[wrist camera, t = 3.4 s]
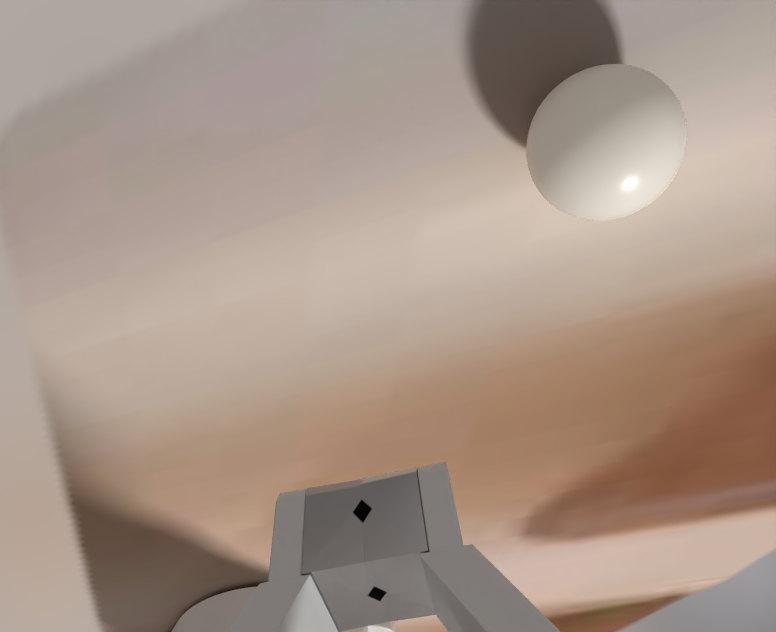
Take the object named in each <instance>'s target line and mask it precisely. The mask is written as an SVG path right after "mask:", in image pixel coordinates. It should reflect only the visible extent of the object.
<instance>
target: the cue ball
mask: <svg viewBox="0 0 776 632" xmlns="http://www.w3.org/2000/svg"><path fill="white" fill-rule="evenodd" d="M686 142H687V127H686V119H685V116H684V112H683V109H682V107H681V105H680V103H679V100H678V98H677V97H676V96H675V94H674V93H673V91H672V90H671V89H670V88H669V86H668V85H667V84H666V83H664V82H663V81H662V80H661V79H659V78H658V77H657V76H655V75H654V74H652V73H651V72H648V71H646V70H644V69H641V68H638V67H634V66H631V65H624V64H604V65H599V66H594V67H591V68H588V69H585V70H582V71H580V72H578V73H576V74H573V75H572V76H570V77H568V78H567V79H565V80H564V81H562V82H561V83H560V84H559V85H557V86H556V87H555V88H554V89H553V90H552V91H551V92H550V93H549V94H548V95H547V97H546V98H545V99H544V100H543V102H542V103H541V105H540V106H539V108H538V109H537V111H536V113H535V115H534V117H533V120H532V122H531V125H530V128H529V132H528V137H527V145H526V157H527V163H528V168H529V171H530V175H531V177H532V180H533V182H534V184H535V185H536V187H537V189H538V190H539V192H540V193H541V195H542V196H543V197H544V198H545V199H546V200H547V201H548V202H549V203H550V204H551V205H553V206H554V207H555V208H557V209H559V210H560V211H562V212H564V213H566V214H568V215H570V216H573V217H576V218H580V219H585V220H593V221H601V220H612V219H618V218H621V217H625V216H627V215H630V214H632V213H635V212H637V211H639V210H641V209H642V208H644V207H646V206H647V205H649V204H650V203H652V202H653V201H654V200H655V199H656V198H658V197H659V196H660V195H661V194H662V193H663V192H664V191H665V189H666V188H667V187H668V186H669V185H670V183H671V182H672V180H673V179H674V177H675V175H676V174H677V172H678V170H679V167H680V165H681V162H682V160H683V157H684V153H685V149H686Z"/></svg>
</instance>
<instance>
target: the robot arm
mask: <svg viewBox="0 0 776 632" xmlns="http://www.w3.org/2000/svg"><path fill="white" fill-rule="evenodd" d="M417 468H418V469H417ZM436 614H437V617H438V618H439V619H440V621H441V622H442V623H443V625H444V626H445V627H446V629H447V630H448V631H449V632H560V631H559V630H558V629H557V628H556V627H555V626H554V625H553V624H552V623H551V622H550V621H549V620H548V619H547V618H546V617H545V616H544V615H543V614H542V613H541V612H540V611H539V610H538V609H537V608H536V607H535V606H534V605H533V604H532V603H531V602H530V601H529V600H528V599H527V598H526V597H525V596H524V595H523V594H522V593H521V592H520V591H519V590H518V589H517V588H516V587H515V586H514V585H513V584H512V583H511V582H510V581H509V580H508V579H507V578H506V577H505V576H504V575H503V574H502V573H501V572H500V571H499V570H498V569H497V568H496V567H495V566H494V565H493V564H492V563H491V562H490V561H488V560H487V559H486V558H485V557H484V556H483V555H482V554H481V553H480V552H479V551H478V550H477V549H476V548H475V547H474V546H473V545H472V544H471V545H464V546H463V541H462V536H461V532H460V527H459V522H458V517H457V512H456V507H455V502H454V498H453V493H452V488H451V483H450V478H449V473H448V468H447V465H446V462H443V463H437V464H432V465H427V466H422V467H414V468H409V469H404V470H399V471H394V472H390V473H385V474H380V475H375V476H370V477H365V478H362V479H361V480H355V481H349V482H343V483H336V484H330V485H324V486H318V487H312V488H307V489H301V490H296V491H290V492H285V493H280V494H279V497H278V499H277V502H276V509H275V518H274V528H273V538H272V548H271V558H270V568H269V577H268V582H265V583H260V584H259V585H258V586H257V587H248V588H242V589H237V590H232V591H228V592H224V593H221V594H218V595H215V596H212V597H210V598H208V599H205V600H203V601H201V602H200V603H198V604H196V605H194V606H193V607H191V608H190V609H189V610H188V611H186V612H185V613H184V614H183V615H182V616H181V617H180V619H179V620H178V622H177V623H176V625H175V627H174V628H173V630H172V631H171V632H395V621H397V620H403V619H410V618H417V617H423V616H430V615H436Z"/></svg>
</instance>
